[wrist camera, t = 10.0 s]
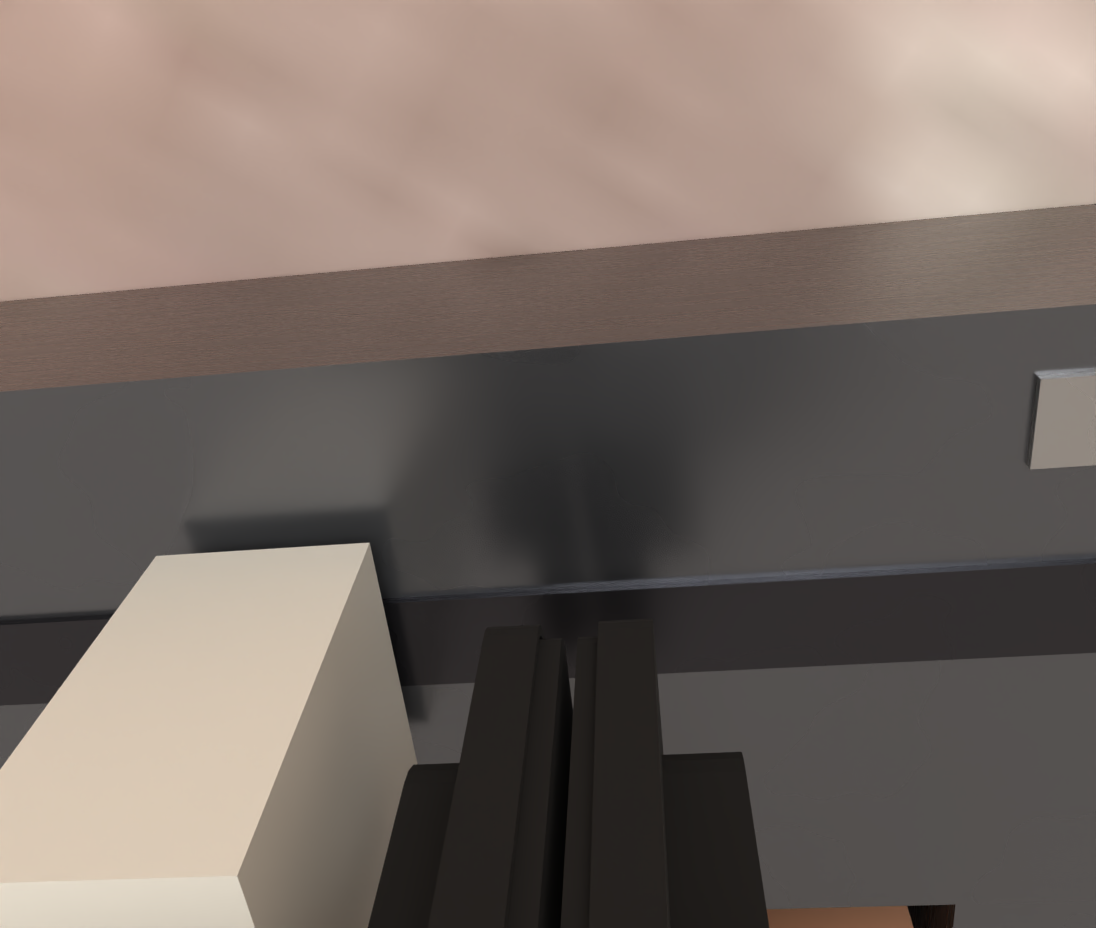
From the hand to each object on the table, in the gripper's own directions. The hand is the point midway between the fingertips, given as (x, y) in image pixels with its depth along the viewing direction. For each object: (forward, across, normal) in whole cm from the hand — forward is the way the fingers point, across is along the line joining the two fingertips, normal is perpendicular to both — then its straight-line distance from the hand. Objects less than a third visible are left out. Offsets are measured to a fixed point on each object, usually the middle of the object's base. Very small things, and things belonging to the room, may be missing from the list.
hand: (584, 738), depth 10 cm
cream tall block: (+1, +3, 0) cm, 4 cm away
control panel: (+5, +2, +3) cm, 6 cm away
